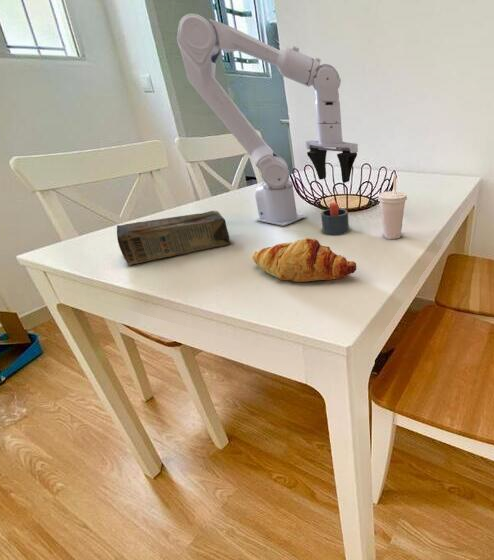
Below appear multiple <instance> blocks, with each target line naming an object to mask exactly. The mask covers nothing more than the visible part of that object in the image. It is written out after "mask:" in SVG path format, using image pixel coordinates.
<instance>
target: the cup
mask: <svg viewBox="0 0 494 560" xmlns="http://www.w3.org/2000/svg"><path fill="white" fill-rule="evenodd" d="M338 210H339V215H338V216H330V208H328V209H325V210H322V211H321V212H320V217H321V227H322V232H323V233H324V234H325V235H330V236H338V235H344V234H346V233H348V232H349V231H350V226H349V225H350V224H349V212H348V210H347V209H344V208H338Z"/></svg>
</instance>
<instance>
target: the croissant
mask: <svg viewBox="0 0 494 560" xmlns="http://www.w3.org/2000/svg"><path fill="white" fill-rule="evenodd" d="M252 261H253V262H254V263H255V264H256V265H257V266H258V267H259V268H260V270H262V271H263V272H265V273H267V274H268V275H270V276H273V277H275V278H277V279H279V281H291V282H297V283H308V282H316V281H331V280H339V279H343V278H345V277H347V276H349V275H351V274H354V273H355V272H356V270H357V263H356V262H355V261H353V260H351V261H350V260H347V258H346V257H345V256H344V255H341V254H337V253H334V252H333V250H332V249H331V248H330V246H326V245H322V244H321V243H320V242H319V240H317V239H316V238H312V237H305V238H302V239H297V240H295V241H294V242H282V243H281V242H280V243H277V244H275V245H274V246H273V245H272V246H269V247H263V248H261V249H260V250H259V251H254V252H253V254H252Z"/></svg>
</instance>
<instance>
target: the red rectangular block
mask: <svg viewBox="0 0 494 560" xmlns="http://www.w3.org/2000/svg"><path fill="white" fill-rule="evenodd" d="M329 209H330V216H338V215H339V210H338V209H339V203H337V202H331V203H329Z"/></svg>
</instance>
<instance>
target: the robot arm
mask: <svg viewBox="0 0 494 560" xmlns="http://www.w3.org/2000/svg"><path fill="white" fill-rule="evenodd" d="M208 20H209V21H208ZM208 20H207V19H206V18H205V17H204V16H201V15H200V14H197V13H187V14H185V15H184V16H182V17H181V19H180V20H179V22H178V27H177V34H176V42H177V45H178V47H179V51H180V53H181V57H182V62H183V67H184V70H185V74H186V78H187V80H188V82H189V84H190V85H191V86H192V87H193V88H194V90H195V91H196V92H197V93H198V95H199V96H200V97H201V98H202V100H203V101H204V102H205V103H206V104H207V105H208V106H209V108H210V109H211V110H212V111H213V113H214V114H215V115H216V116H217V117H218V119H219V120H220V122H222V124H223V125H224V126H225V128H227V130H228V131H229V132H230V133H231V135H232V136H233V137H234V139H236V140H237V142H238V143H239V144H240V145H241V146H242V148H243V149H244V150H245V151H246V152H247V154H248V155H249V156H250V158H251V159H252V162H253V163H254V165H255V166H256V167H257V168H258V171H259V172H260V175H261V178H262V180H263V181H262V182H263V183H262V184H260V185H259V186H258V187H257V188H256V190H255V202H256V206H257V207H256V208H257V212H258V218H257V219H256V220H257V222H262V223H267V224H271V225H276V226H280V227H281V226H282V227H285V226H288V225H290V224H293V223H296V222H297V221H299V220H302V219H305V215H302V214H298V213H297V206H296V199H295V198H296V197H295V192H294V185H293V184H294V183H293V182H292V181H291V180H290V171H289V169H290V168H289V164H288V162H287V161H286V160H285V159H284V158H283V157H282V156H281V155H279V154H277V153H276V152H275V151H274V150H273V149H272V147H270V146H269V144H267V143H266V141H265V140H264V139H263V137H262V136H261V135H260V134H259V133H258V131H257V130H256V129H255V127H254V126H253V125H252V124H251V122H250V121H249V120H248V118H247V117H246V115H244V113H243V112H242V111H241V109H240V108H239V107H238V106H237V105H236V103H235V102H234V101H233V99H232V97H231V96H230V95H229V94H228V93H227V92H226V90H225V89H224V88H223V87H222V85H221V84H220V83H219V82H218V80H217V79H216V69H217V68H216V67H217V61H218V58H219V57H220V54H221V52H223V53H225V54H228V53H233V52H240V53H242V54H245V55H248V56H250V57H253V58H256V59H258V60H259V61H263V62H265V63H268V64H269V65H270V64H271V65H273V66H275V67H276V68H277V70H278V72H279V74H280V75H281V76H282V77H284V78H287V79H289V80H291V81H294V82H296V83H298V84H301V85H304V86H305V87H307V88H310V87H311V86H312V87H313V89H314V92H315V102H314V103H315V112H316V113H315V115H316V123H317V125H316V126H317V134H318V135H317V136H318V140H306V141H305V146H306V147H305V148H306V150H309V151H306V155H307V157H308V158H309V159H310V162H312V164H313V166H314V169H315V171H316V174H317V177H318V180H320V181H321V180H325V179H326V178H327V169H326V168H327V167H326V166H327V165H326V164H327V163H326V162H327V161H326V160H327V152H328V151H329V152H338V153H336V157H337V159H338V161H339V162H338V163H339V166H340V173H341V180H342V183H348V182H350V180H351V174H352V170H353V166H354V163H355V161H356V158H357V156H358V153H359V148H358V147H359V144H358V143H354V142H346V141H343V131H342V115H341V102H340V93H339V89H340V86H341V82H342V80H341V78H340V74H339V72H338V70H337V69H336V68H335V67H334V66H333V65H331V64H328V63H324V64H323V63H322V64H321V61H322V59H321V58H318V57H315V58H313V57H311V56H309V55H307V54H304V53H302V52H300V48H299V47H296V46H295V45H293V46H292V48H291V47H289V46H285V47H283V48H282V49H278V48H275V47H274V46H272V45H269V44H268V43H265V42H264V41H262V40H259V39H257V38H255V37H253V36H252V35H249V34H247V33H245V32H244V31H241V30H239V29H237V28H235V27H232V26H230V25H227V24H225V23H222V22H220V21H217V20H214V19H211V18H210V19H209V18H208Z"/></svg>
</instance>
